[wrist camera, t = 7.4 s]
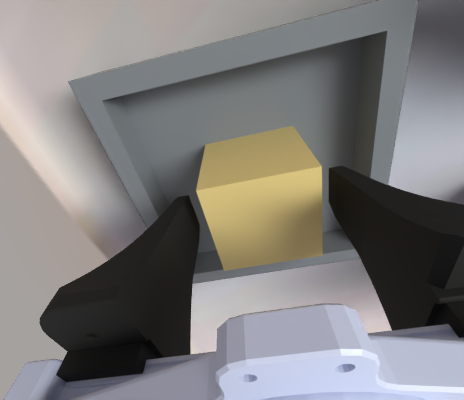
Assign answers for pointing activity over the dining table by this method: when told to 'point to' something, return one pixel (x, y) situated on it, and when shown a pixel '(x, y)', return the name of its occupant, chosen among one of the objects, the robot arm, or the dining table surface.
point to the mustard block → (262, 198)
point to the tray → (258, 111)
